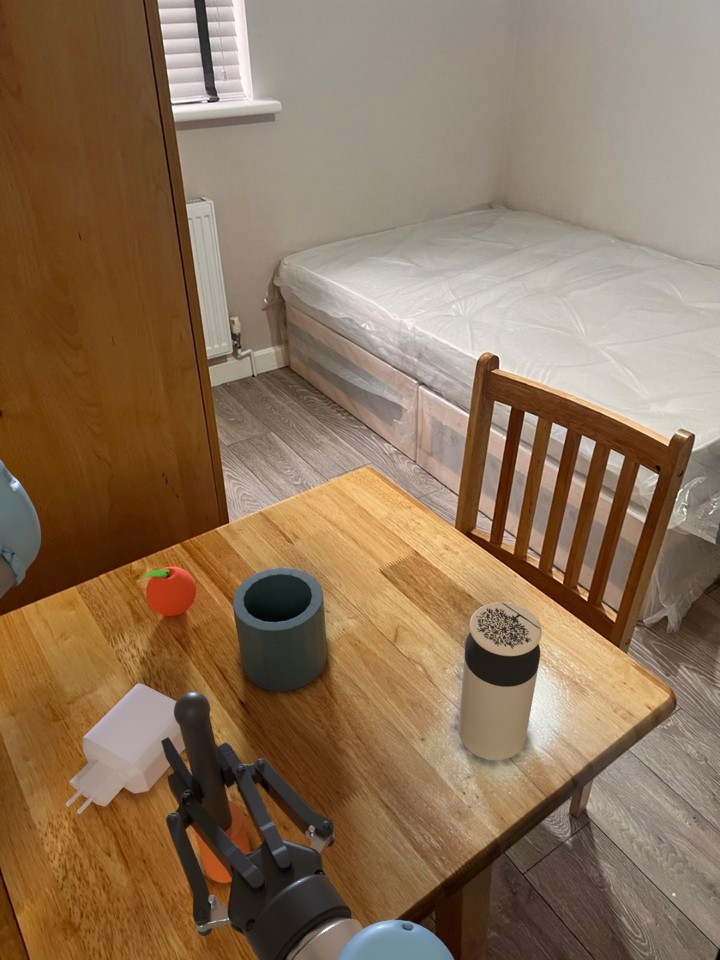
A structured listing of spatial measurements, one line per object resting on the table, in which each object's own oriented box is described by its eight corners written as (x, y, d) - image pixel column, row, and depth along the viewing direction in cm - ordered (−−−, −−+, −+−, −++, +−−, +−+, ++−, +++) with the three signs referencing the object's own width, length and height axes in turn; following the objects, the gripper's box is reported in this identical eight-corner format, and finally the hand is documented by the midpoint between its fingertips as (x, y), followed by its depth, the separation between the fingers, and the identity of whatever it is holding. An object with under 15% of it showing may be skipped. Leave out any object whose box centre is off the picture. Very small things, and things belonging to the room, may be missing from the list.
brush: (223, 893, 72) (182, 733, 58) (194, 860, 75) (148, 700, 61) (260, 858, 75) (230, 697, 61) (231, 827, 78) (195, 667, 64)
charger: (48, 803, 81) (143, 705, 91) (108, 842, 77) (200, 735, 88) (36, 778, 78) (135, 680, 89) (98, 817, 74) (194, 710, 85)
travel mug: (487, 774, 83) (501, 667, 72) (444, 724, 88) (452, 618, 78) (539, 741, 86) (560, 634, 76) (495, 695, 92) (508, 589, 81)
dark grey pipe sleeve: (281, 706, 91) (273, 645, 85) (225, 659, 97) (214, 599, 91) (344, 655, 97) (341, 595, 91) (288, 614, 104) (281, 555, 98)
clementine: (136, 623, 103) (126, 586, 99) (153, 590, 109) (144, 553, 105) (191, 628, 102) (183, 590, 98) (205, 593, 108) (198, 556, 104)
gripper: (230, 1045, 54) (113, 805, 69) (396, 910, 61) (257, 721, 77) (216, 1003, 49) (95, 758, 65) (397, 863, 57) (249, 674, 73)
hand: (183, 738), depth 71 cm, fingers closed on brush, 3 cm apart
